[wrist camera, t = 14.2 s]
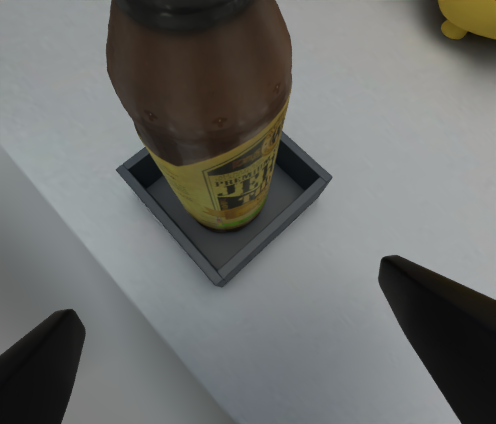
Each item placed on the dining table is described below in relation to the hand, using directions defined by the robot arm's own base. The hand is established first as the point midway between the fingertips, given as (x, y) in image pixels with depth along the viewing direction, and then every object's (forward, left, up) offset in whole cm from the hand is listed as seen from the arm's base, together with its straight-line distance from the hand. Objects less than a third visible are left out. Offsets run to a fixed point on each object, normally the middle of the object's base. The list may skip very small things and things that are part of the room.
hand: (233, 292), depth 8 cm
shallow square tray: (+4, +6, -12) cm, 14 cm away
